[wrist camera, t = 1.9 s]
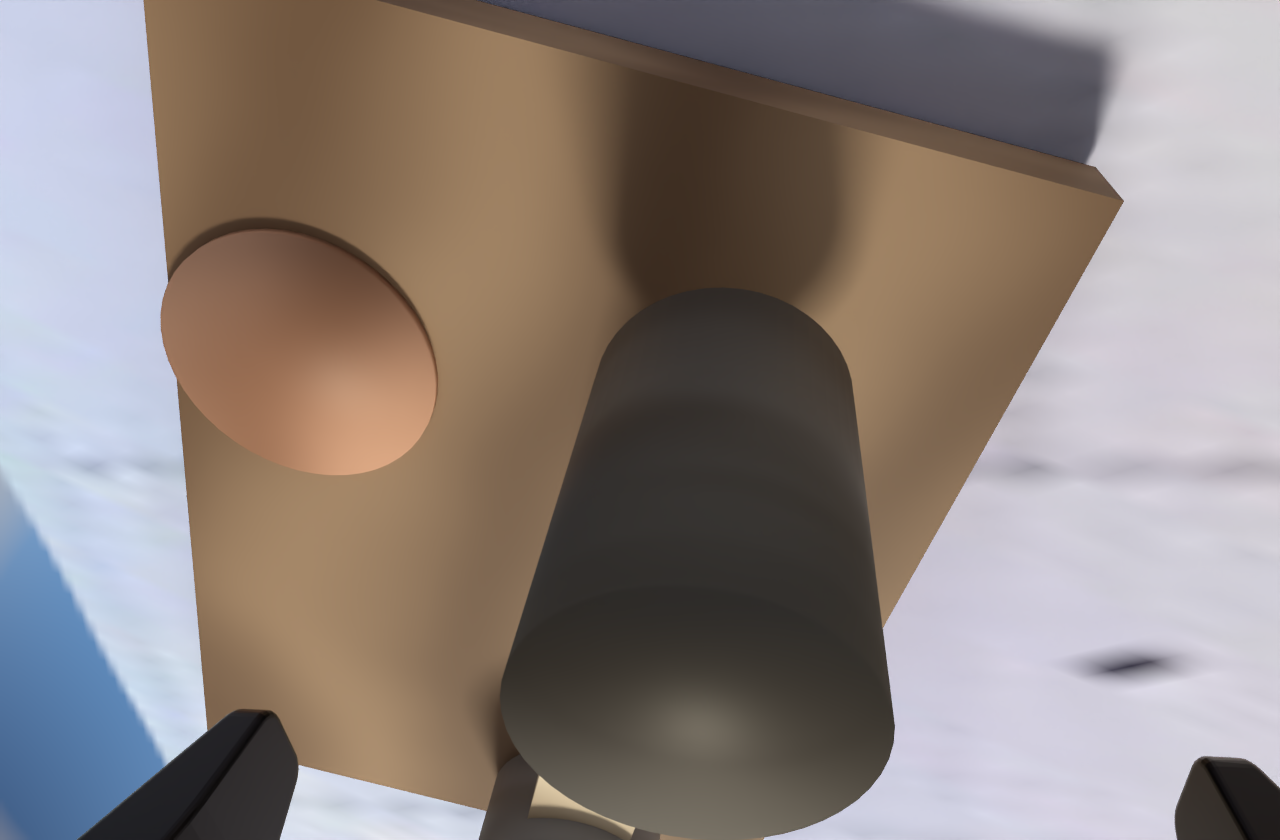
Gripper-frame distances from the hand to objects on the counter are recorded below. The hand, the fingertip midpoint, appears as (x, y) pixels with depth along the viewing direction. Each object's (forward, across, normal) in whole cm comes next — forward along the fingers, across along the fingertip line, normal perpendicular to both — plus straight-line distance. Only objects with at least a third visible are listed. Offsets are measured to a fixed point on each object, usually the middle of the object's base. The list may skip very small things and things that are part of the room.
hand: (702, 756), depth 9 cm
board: (+10, +4, +5) cm, 12 cm away
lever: (+8, +2, +7) cm, 11 cm away
